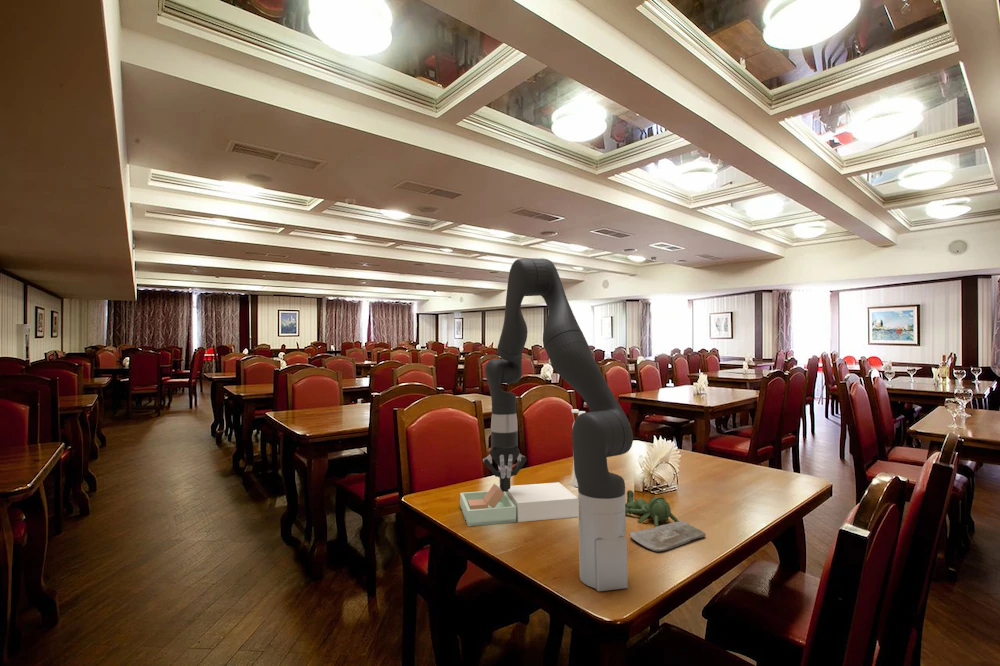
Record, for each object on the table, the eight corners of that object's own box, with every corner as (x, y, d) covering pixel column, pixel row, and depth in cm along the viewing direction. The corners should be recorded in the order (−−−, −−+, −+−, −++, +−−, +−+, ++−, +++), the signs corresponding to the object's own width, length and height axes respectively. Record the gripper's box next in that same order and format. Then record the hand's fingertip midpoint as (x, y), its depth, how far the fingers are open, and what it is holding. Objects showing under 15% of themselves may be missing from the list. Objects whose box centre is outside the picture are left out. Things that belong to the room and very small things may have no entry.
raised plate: (578, 516, 128) (577, 498, 128) (518, 522, 125) (517, 503, 125) (559, 498, 144) (558, 482, 144) (505, 503, 140) (504, 486, 141)
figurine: (637, 488, 140) (684, 495, 123) (640, 515, 138) (688, 526, 121) (606, 493, 135) (650, 501, 118) (609, 521, 134) (655, 533, 117)
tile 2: (504, 493, 130) (497, 488, 130) (493, 508, 130) (486, 503, 129) (500, 488, 135) (494, 483, 135) (490, 502, 134) (483, 497, 134)
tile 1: (470, 505, 128) (470, 515, 128) (488, 504, 129) (488, 513, 129) (467, 500, 133) (467, 508, 133) (485, 498, 134) (485, 507, 134)
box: (516, 522, 125) (516, 507, 125) (467, 526, 122) (467, 511, 122) (503, 503, 140) (503, 489, 140) (460, 506, 138) (460, 492, 138)
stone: (656, 551, 104) (624, 531, 113) (656, 563, 104) (624, 542, 113) (711, 530, 113) (678, 512, 121) (711, 541, 113) (678, 523, 122)
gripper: (483, 432, 128) (484, 496, 128) (530, 430, 131) (531, 493, 130) (479, 428, 136) (480, 488, 135) (523, 426, 138) (524, 485, 138)
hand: (505, 490), depth 133 cm, fingers closed
